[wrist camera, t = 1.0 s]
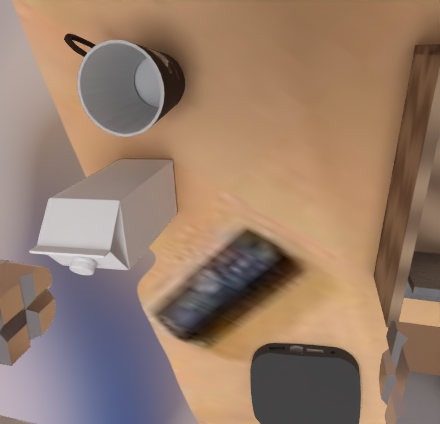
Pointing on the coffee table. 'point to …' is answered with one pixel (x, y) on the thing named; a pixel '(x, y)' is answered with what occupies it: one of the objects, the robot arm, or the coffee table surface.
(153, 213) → the milk carton
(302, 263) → the coffee table surface
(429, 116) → the shelf
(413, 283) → the bookend
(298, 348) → the media streaming box
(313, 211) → the coffee table surface
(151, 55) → the coffee mug
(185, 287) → the coffee table surface
